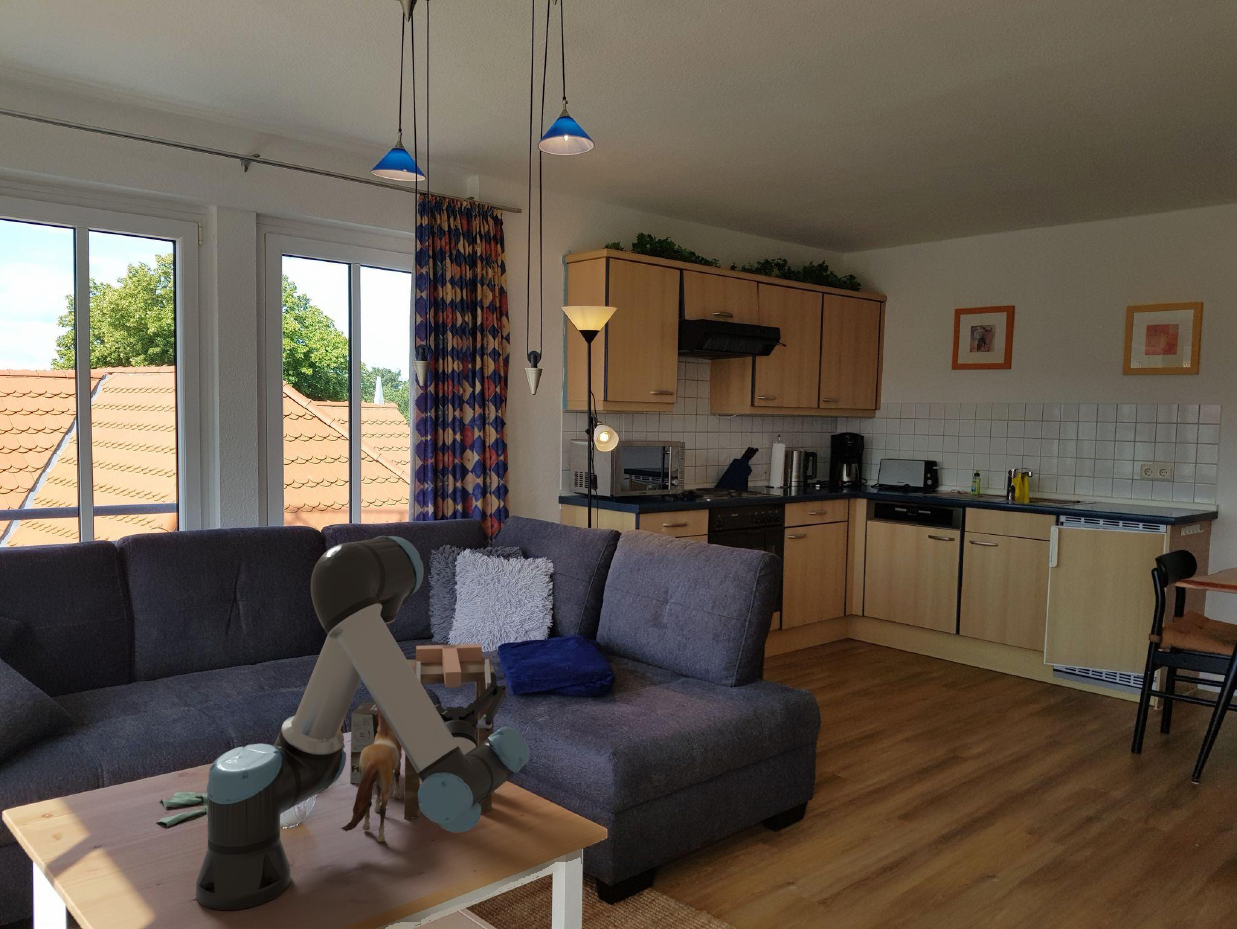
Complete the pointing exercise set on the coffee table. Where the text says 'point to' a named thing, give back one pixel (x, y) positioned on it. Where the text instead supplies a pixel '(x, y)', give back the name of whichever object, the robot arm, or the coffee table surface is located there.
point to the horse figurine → (377, 776)
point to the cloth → (184, 801)
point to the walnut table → (476, 673)
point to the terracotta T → (449, 659)
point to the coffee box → (362, 735)
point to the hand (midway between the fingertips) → (452, 664)
